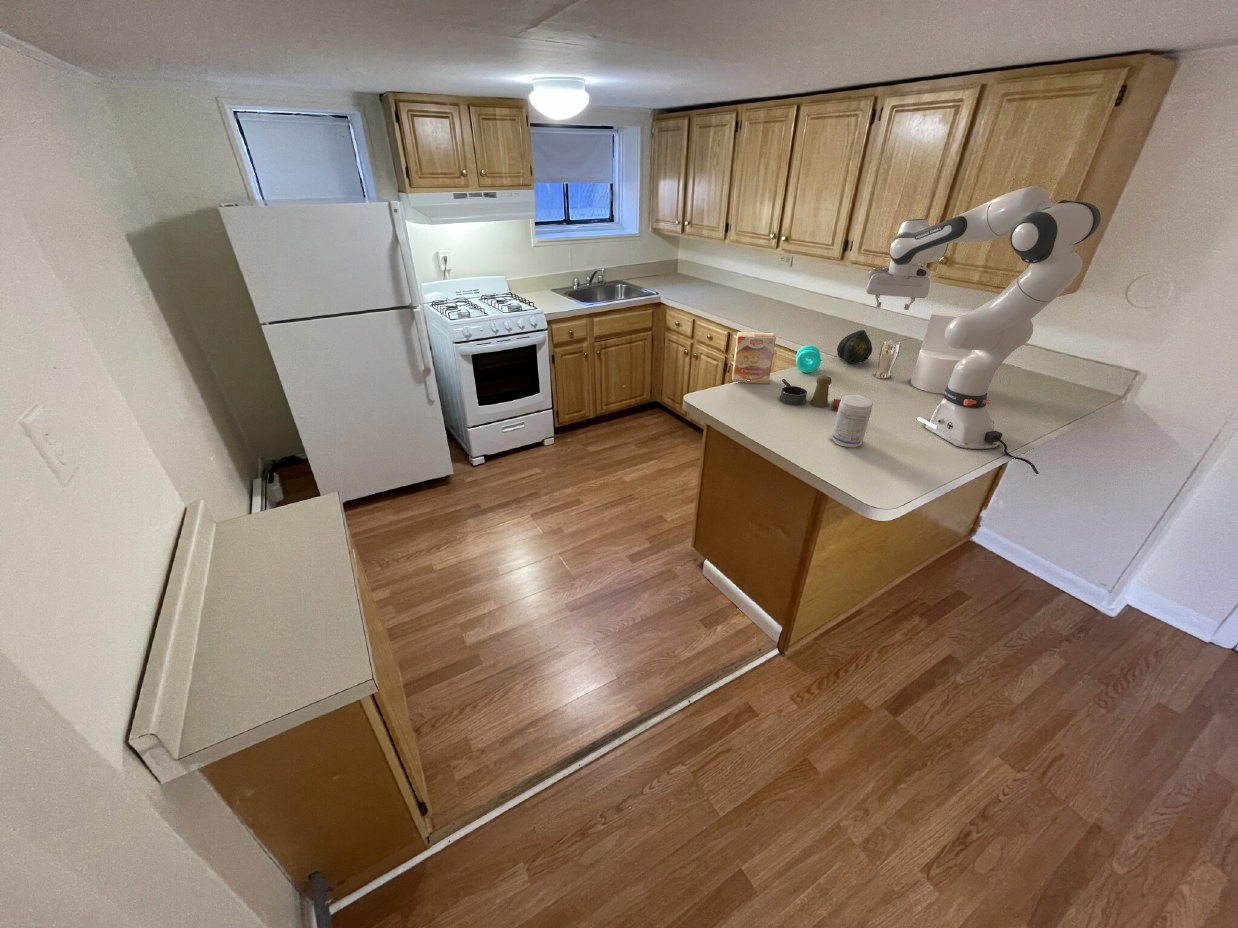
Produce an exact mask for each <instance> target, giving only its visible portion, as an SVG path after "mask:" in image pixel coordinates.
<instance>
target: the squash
mask: <svg viewBox="0 0 1238 928" xmlns="http://www.w3.org/2000/svg"><path fill="white" fill-rule="evenodd" d="M872 352H873V343H872V341H871V340H870V337H869V336H868V333H867V332H866V330H865V329H861V330H856V331H853V332H852V333H849V334H848V335H847V336H845V337H843V338H842V339H841V340H840V342H839V343H838V345H837V347H836V353H837V354H836V355H837V357H838V358H839V359H841V360H843V361H844V362H845V363H846V364H847V365H849V364H853V365H855V364H856V365H857V364H859V363H864V362H866V361H868V360H869V358H870V356H871V355H872Z"/></svg>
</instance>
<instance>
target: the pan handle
mask: <svg viewBox="0 0 1238 928" xmlns="http://www.w3.org/2000/svg"><path fill="white" fill-rule="evenodd" d="M781 382H782V383H783V385H784V386H785V387H786V386H792V385H791V384H790V383H789V382H788V381H787V379H786V378H782V380H781Z"/></svg>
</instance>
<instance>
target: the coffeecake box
mask: <svg viewBox="0 0 1238 928" xmlns="http://www.w3.org/2000/svg"><path fill="white" fill-rule="evenodd" d="M776 341H777V337H776V335H775V333H774V332H755V331H753V332H752V331H747V332H746V331H737V332H736V341H735V346H734V347H735V348H734V349H735V350H734V356H733V364H732V372H731V380H732V382H733V383H743V382H742V381H745V382H744V383H749V384H750V383H752V384H769V383H770V378H771V377H770V376H771V371H772V366H773V359H774V354H775V353H774V352H775V347H776ZM747 380H750V381H747Z"/></svg>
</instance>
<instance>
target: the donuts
mask: <svg viewBox="0 0 1238 928" xmlns="http://www.w3.org/2000/svg"><path fill="white" fill-rule="evenodd" d="M795 359H796V360H795V364H796V368H797V369H798V370H799V371H801V372H803V373H807V374H808V373H813V372H815V371H816V370H818V369H819V367H820V365H821V351H820V349H819V348H818V347H816V346H815V345H813V344H807V345H803V346H801V347H800V348H799V349H798V350H797V352H796V355H795Z"/></svg>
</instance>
